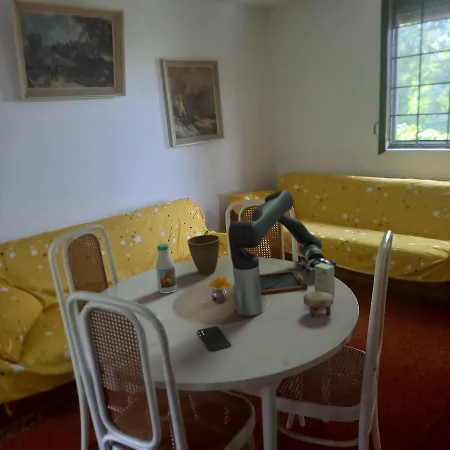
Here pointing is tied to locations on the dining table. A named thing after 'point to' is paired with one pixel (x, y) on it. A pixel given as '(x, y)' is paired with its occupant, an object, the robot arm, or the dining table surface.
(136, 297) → the dining table surface
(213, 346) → the phone
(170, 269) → the milk bottle
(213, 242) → the plant pot
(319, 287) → the skincare box
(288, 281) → the picture frame
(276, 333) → the dining table surface
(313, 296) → the stool
